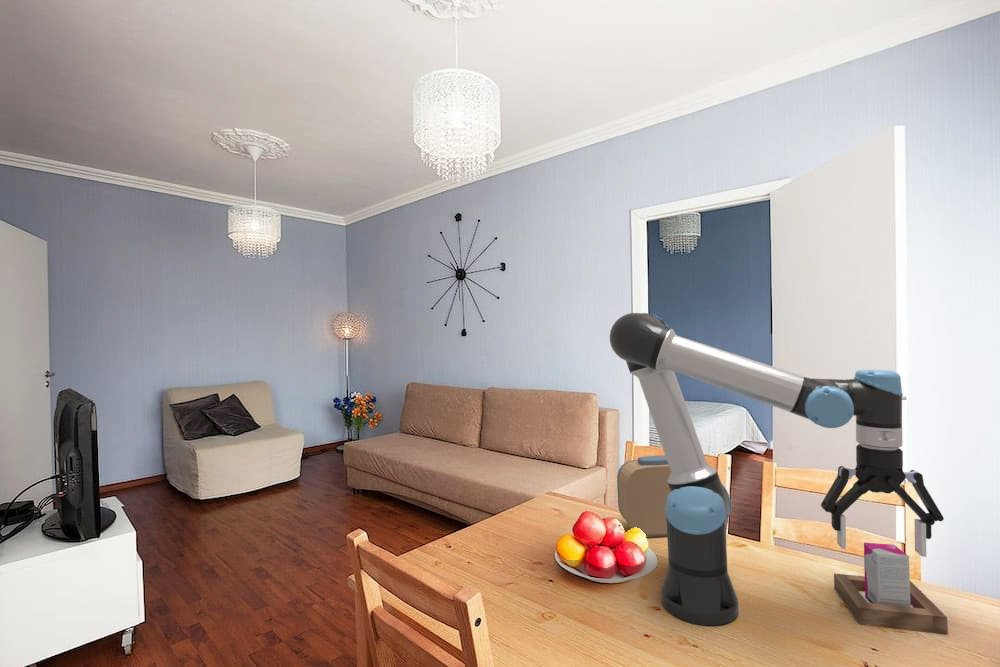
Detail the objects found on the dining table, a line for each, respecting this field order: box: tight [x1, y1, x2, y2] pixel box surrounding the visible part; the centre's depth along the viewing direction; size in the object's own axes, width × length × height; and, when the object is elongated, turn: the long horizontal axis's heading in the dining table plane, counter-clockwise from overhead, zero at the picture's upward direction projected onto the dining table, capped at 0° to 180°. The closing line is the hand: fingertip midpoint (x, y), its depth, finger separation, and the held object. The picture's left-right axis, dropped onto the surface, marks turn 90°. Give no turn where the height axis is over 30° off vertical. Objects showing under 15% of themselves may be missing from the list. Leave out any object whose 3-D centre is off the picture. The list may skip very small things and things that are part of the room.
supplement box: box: [863, 541, 911, 607], centre depth 100 cm, size 6×6×12 cm
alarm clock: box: [616, 455, 671, 538], centre depth 144 cm, size 21×10×22 cm, turn 94°
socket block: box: [833, 573, 949, 635], centre depth 100 cm, size 14×14×3 cm
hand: (880, 549), depth 100 cm, fingers open, 13 cm apart
